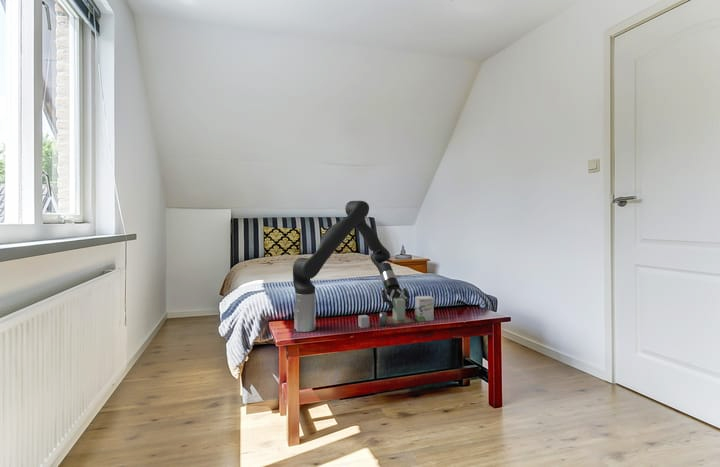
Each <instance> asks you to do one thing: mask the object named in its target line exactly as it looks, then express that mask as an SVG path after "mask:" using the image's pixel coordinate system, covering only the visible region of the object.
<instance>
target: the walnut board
mask: <svg viewBox="0 0 720 467" xmlns="http://www.w3.org/2000/svg"><path fill="white" fill-rule="evenodd" d="M386 323H389V324H390V325H392V326H400V325H401V324H402V325H408V324H416V320H415V319H412V318H410V317H408V316H406V315H405V320H398V321H397V320H395V319H393V315H391V316H387V322H386Z"/></svg>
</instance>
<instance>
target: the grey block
mask: <svg viewBox="0 0 720 467" xmlns="http://www.w3.org/2000/svg"><path fill="white" fill-rule="evenodd" d="M357 322H358V323H357V324H358V325H357V326H358V327H360V328H361V329H367V328H370V316H368V315H366V314H361V315H358V318H357Z"/></svg>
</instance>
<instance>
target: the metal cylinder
mask: <svg viewBox="0 0 720 467" xmlns="http://www.w3.org/2000/svg"><path fill="white" fill-rule="evenodd" d="M378 317H379V319H378V326H380V327H387V323H388V322H387V317H388V312H385V311H383V312H382V311H381V312H379V315H378Z"/></svg>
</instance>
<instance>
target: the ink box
mask: <svg viewBox="0 0 720 467" xmlns="http://www.w3.org/2000/svg"><path fill="white" fill-rule="evenodd" d="M434 299H435V298H434V297H433V296H431V295H421V296H415V297H414V320H415V321H417V322H428V321H434V320H435V318H434V317H435V316H434V312H435V311H434V309H435V305H434V302H435V301H434Z"/></svg>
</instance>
